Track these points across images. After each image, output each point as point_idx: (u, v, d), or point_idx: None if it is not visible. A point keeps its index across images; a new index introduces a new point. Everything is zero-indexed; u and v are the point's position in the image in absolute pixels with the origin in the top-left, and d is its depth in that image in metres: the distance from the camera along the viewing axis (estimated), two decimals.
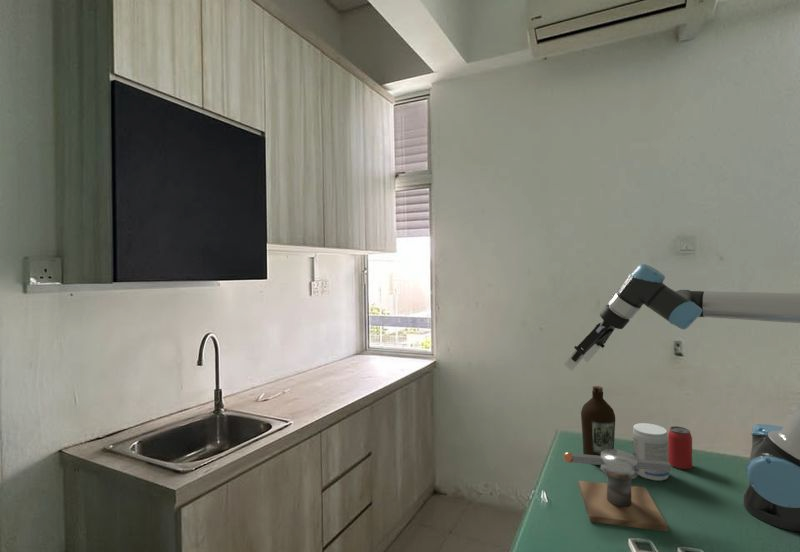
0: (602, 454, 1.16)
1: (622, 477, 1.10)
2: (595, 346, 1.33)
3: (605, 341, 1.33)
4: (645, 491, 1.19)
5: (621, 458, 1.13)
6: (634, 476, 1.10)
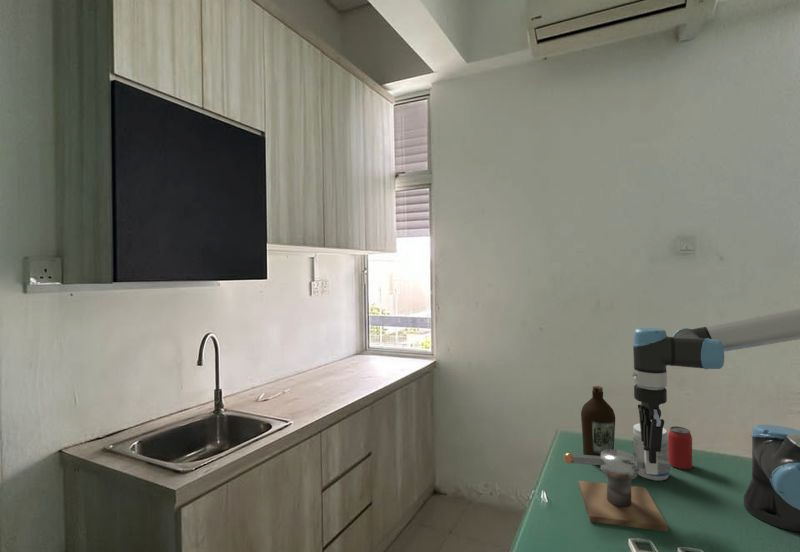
0: (602, 454, 1.16)
1: (623, 477, 1.10)
2: None
3: None
4: (645, 491, 1.19)
5: (621, 458, 1.13)
6: (634, 476, 1.10)
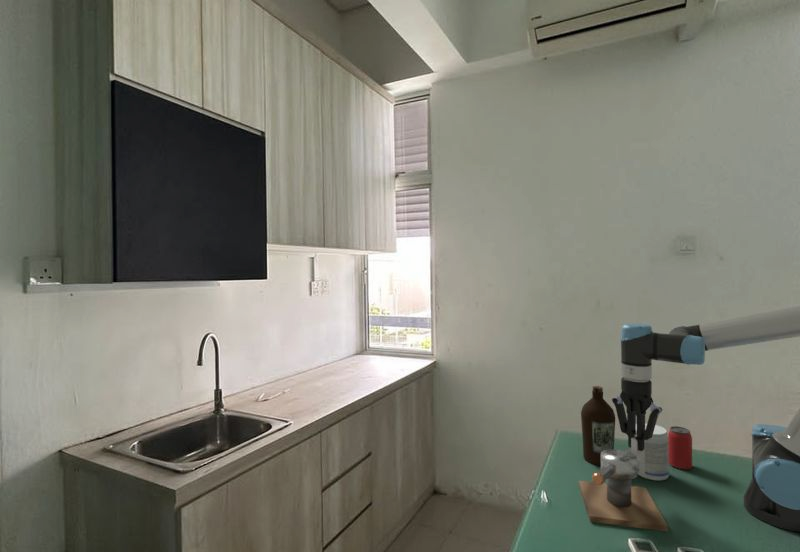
0: (610, 460, 1.12)
1: (636, 475, 1.11)
2: None
3: (627, 425, 1.21)
4: (645, 491, 1.19)
5: (622, 457, 1.14)
6: None
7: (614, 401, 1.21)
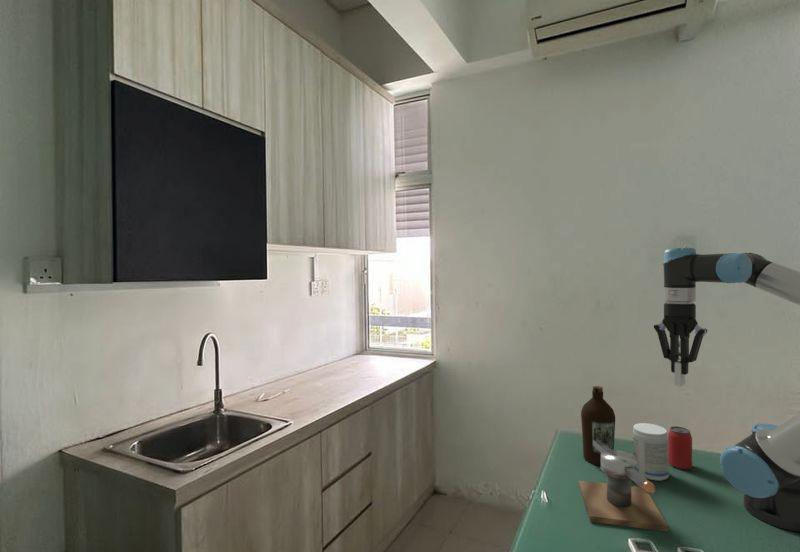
0: (625, 463, 1.10)
1: None
2: None
3: None
4: None
5: (620, 455, 1.15)
6: None
7: (656, 328, 1.21)
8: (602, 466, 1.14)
